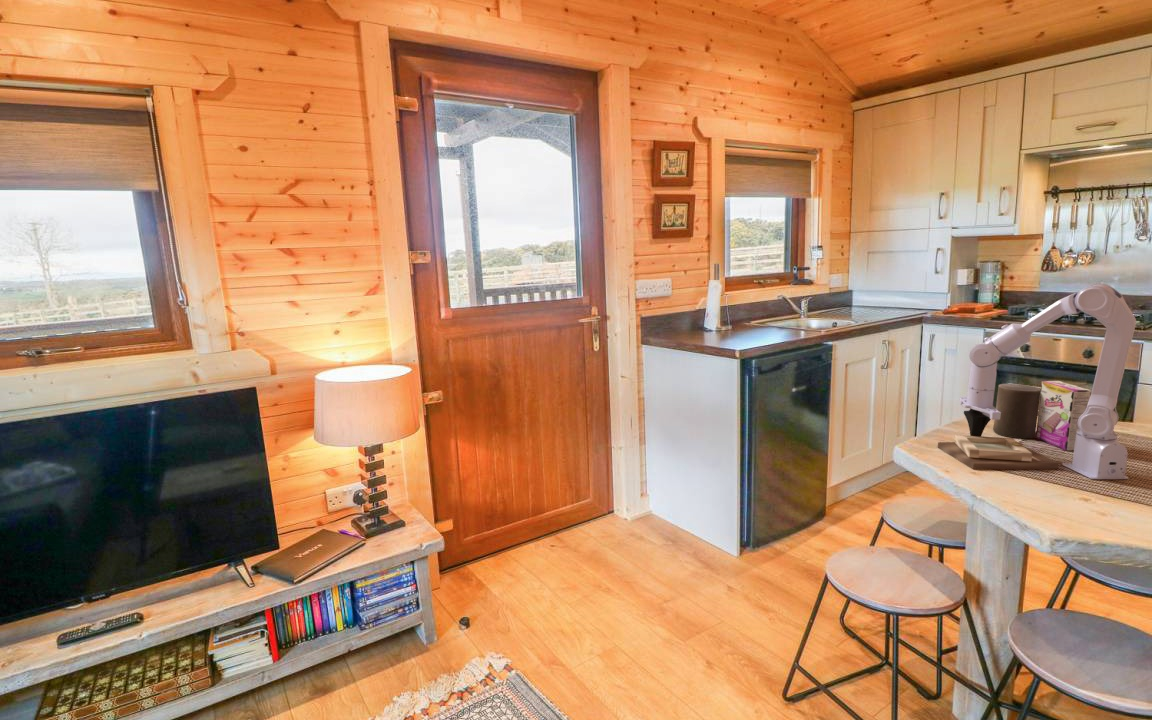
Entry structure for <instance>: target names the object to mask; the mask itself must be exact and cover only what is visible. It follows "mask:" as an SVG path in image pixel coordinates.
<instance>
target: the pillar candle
mask: <svg viewBox="0 0 1152 720" xmlns="http://www.w3.org/2000/svg"><path fill="white" fill-rule="evenodd" d="M997 389H998V390H997V396H996V402H995V403H996V405H995V408H996V409H997V410H998V411H999V412H1001V416H1000V420H995V419H994V420H993V427H992V430H993V432H994V433H995V434H997V435H999V436H1002V437H1003V436H1004V437H1006V438H1013V439H1018V440H1019V439H1020V440H1023V439H1025V440H1026V439H1034V438H1036V430H1037V422H1038V413H1039V403H1040V394H1041V387H1037V386H1032V385H1027V384H1021V383H1020V382H1018V384H1016V383H1000V384H998V388H997Z"/></svg>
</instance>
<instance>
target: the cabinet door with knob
mask: <svg viewBox="0 0 1152 720" xmlns="http://www.w3.org/2000/svg"><path fill="white" fill-rule="evenodd" d="M954 442H955V443H956V444H957V445H958V446H959V447H960V448H961V449H962V450H963V451H964V452H965V453H966V454H967V456H968V457H972V458H988V459H1003V460H1018V461H1031V460H1032V453H1031V452H1030V451H1028V450H1027V449H1026V448H1027V447H1026V446H1024V445H1023V443H1021V442H1018V441H1017V440H1015V438H1013V437H998V436H997V437H996V436H983V435H981V436H970V435H962V434H960V435H959V434H955V435H954ZM1023 446H1024V447H1023ZM1025 447H1026V448H1025Z"/></svg>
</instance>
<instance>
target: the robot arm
mask: <svg viewBox="0 0 1152 720" xmlns="http://www.w3.org/2000/svg"><path fill="white" fill-rule="evenodd" d="M1080 312H1082V313H1084V314H1087V315H1089V316H1091V317H1093V318H1095V319H1096V320H1097V321H1098V322H1100V324H1102V325H1103V326H1104V327H1105V329H1106V330H1105V334H1104V337H1103V338H1104V340H1103V343H1102V347H1101V351H1100V355H1099V360H1098V363H1097V364H1098V365H1097V366H1096V367H1097V368H1096V372H1095V377H1094V380H1093V384H1092V388H1091V389H1092V390H1091V391H1092V392H1091V396H1090V399H1089V402H1088V405H1087V408H1086V409H1085V411H1084V413H1083V414H1082V415H1081V416H1080V417H1079V419H1078V427H1079V429H1077V430H1076V438H1075V446H1074V451H1073V453H1072V454H1073V455H1072V462H1061V464H1062V466H1064V467H1065V468H1067V469H1070V470H1073V471H1074V472H1076V473H1079V474H1080V475H1083V476H1084V477H1087V478H1089V479H1091V480H1128V479H1129V477H1128V476H1127V475H1126V470H1127V463H1128V462H1127V461H1128V456H1129V453H1128V449H1127V448H1126V446H1124V445H1123V444H1121V443H1120V441H1119V440H1118V434H1117V433H1116V431H1114V429H1115V427H1116V425H1117V423H1118V422H1119V413H1118V411H1117V404H1118V396H1119V393H1120V388H1121V385H1122V381H1123V377H1124V372H1125V370H1126V364H1127V361H1128V357H1129V353H1130V349H1131V344H1132V341H1133V337H1134V333H1135V328H1136V326H1137V325H1136V324H1137V319H1136V317H1135V316H1134V314H1133V312H1132V310H1131V309H1130V307H1129V306H1128V304H1127V302H1126V300H1125V298H1124V296H1123V295H1122V293H1121V292H1119V291H1118V290H1117V289H1115V288H1114V287H1112V286H1111V285H1108V284H1107V283H1106V284H1105V283H1093V284H1091V285H1089V286H1086V287H1084V288H1081V290H1078V291H1077V292H1074V293H1072V294H1070V295H1067V296H1065V297H1063V298H1061V299H1059V300H1057V301H1055V302H1054V303H1052V304H1051V305H1049V306H1047V307H1046V308H1045V309H1043V310H1042V311H1040V312H1038V313H1037V314H1035V315H1034V316H1032V317H1031V318H1029V319H1028V320H1026V321H1024V322H1023V323H1013V322H1012V323H1011V324H1009V325H1008V324H1007V323H1006V324H1004V325H1003V326H1001V330H999V331H998V332H996V333H995V334H993V335H991V336H990V337H989V336H987V337H984V338H983V341H984V342H981V343H978V344H975V346H973V348H971V350H970V351H969V353H968V356H969V360H970V362H971V364H970V370H969V378H968V379H969V380H968V386H967V395H966V397H959V401H958V405H960V406H961V407H963V408H965V409H968V410H963V415H964V416H965V417H964V418H965V419H966V421H967V424H968V430H969V436H983V433H984V431H985V428H986V426H988V423H990V421H991V420H993V421H994V419H995V420H1000V416H1001V412H999V411H998V410H997V409H996V406H994V399H995V389H996V382H997V368H998V367H997V366H998V361H999V360H1000V359H1001V358H1002V357H1007V356H1008V355H1009V354H1011V353H1013V352H1015V351H1016V350H1018V349H1020V348H1021V347H1022V346H1024V345H1026V344H1028V343H1029V342H1031V337H1032V334H1033V333H1035V332H1037V331H1039V330H1040V329H1042V328H1044V327H1046V326H1047V325H1049V324H1051V323H1052V322H1054V321H1056V320H1058V319H1059V318H1061V317H1063V316H1067V315H1069V316H1070V315H1077V314H1079V313H1080Z"/></svg>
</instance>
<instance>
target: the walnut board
mask: <svg viewBox="0 0 1152 720" xmlns="http://www.w3.org/2000/svg"><path fill="white" fill-rule="evenodd" d="M1022 446H1023V447H1025V448H1026V449H1027V450H1028V451H1030V452H1031V453H1032V460H1031V461H1018V460H1003V459H988V458H972V457H968V456H967V454H966V453H965V452H964V451H963V450H962V449H961V448H960V447H959V446H958V445H957V444H956V443H955V441H944V442H941V441H938V442H937V448H938V450H939V449H940V450H941V451H942V452H944V453H946V454H947V455H949V456H950V457H953V458H954V459H955V460H957V461H958V462H960V463H962V464H964V465H965V466H967V467H969V469H970V468H971V470H1058V468H1059V462H1057V461H1055V460H1053V459H1051V458H1050V457H1046V456H1045V455H1043V454H1040V452H1039V453H1038V452H1036V451H1034V450H1032V449H1030V448H1028V447H1026V446H1024V445H1022Z"/></svg>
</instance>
